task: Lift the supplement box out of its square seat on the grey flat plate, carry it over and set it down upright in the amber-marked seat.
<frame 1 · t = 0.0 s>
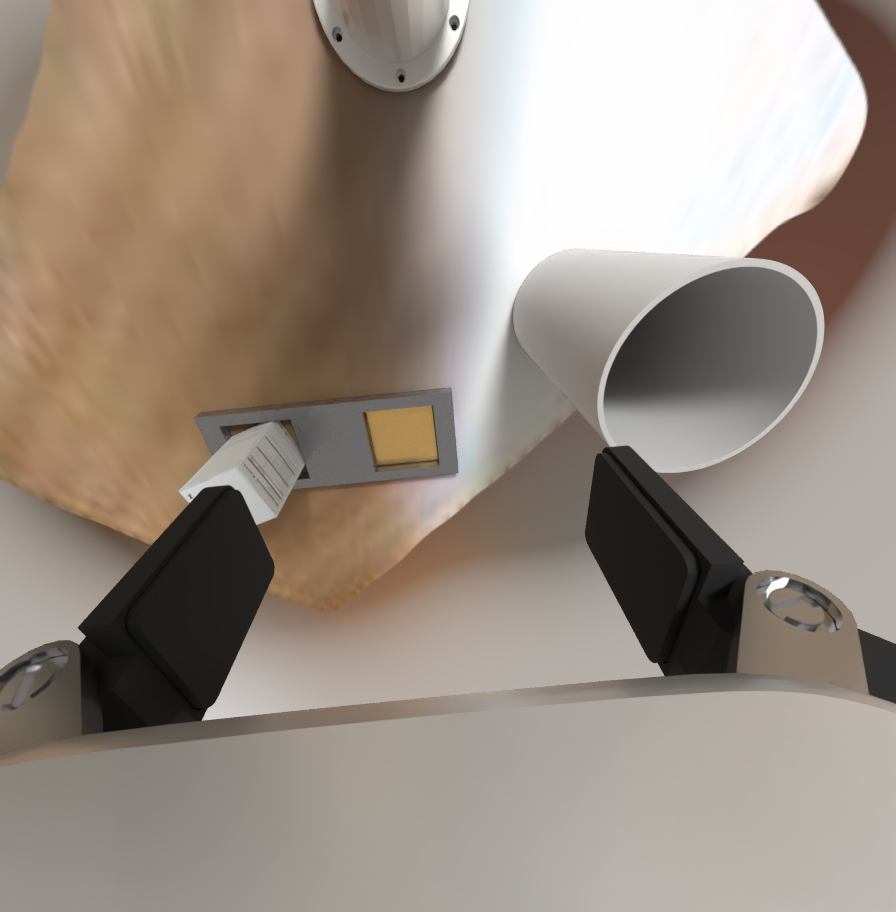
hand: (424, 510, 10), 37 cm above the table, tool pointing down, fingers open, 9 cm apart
grey flat plate: (337, 441, 50), on the table
supplement box: (271, 446, 50), resting in grey flat plate
cylinder vase: (564, 310, 43), on the table
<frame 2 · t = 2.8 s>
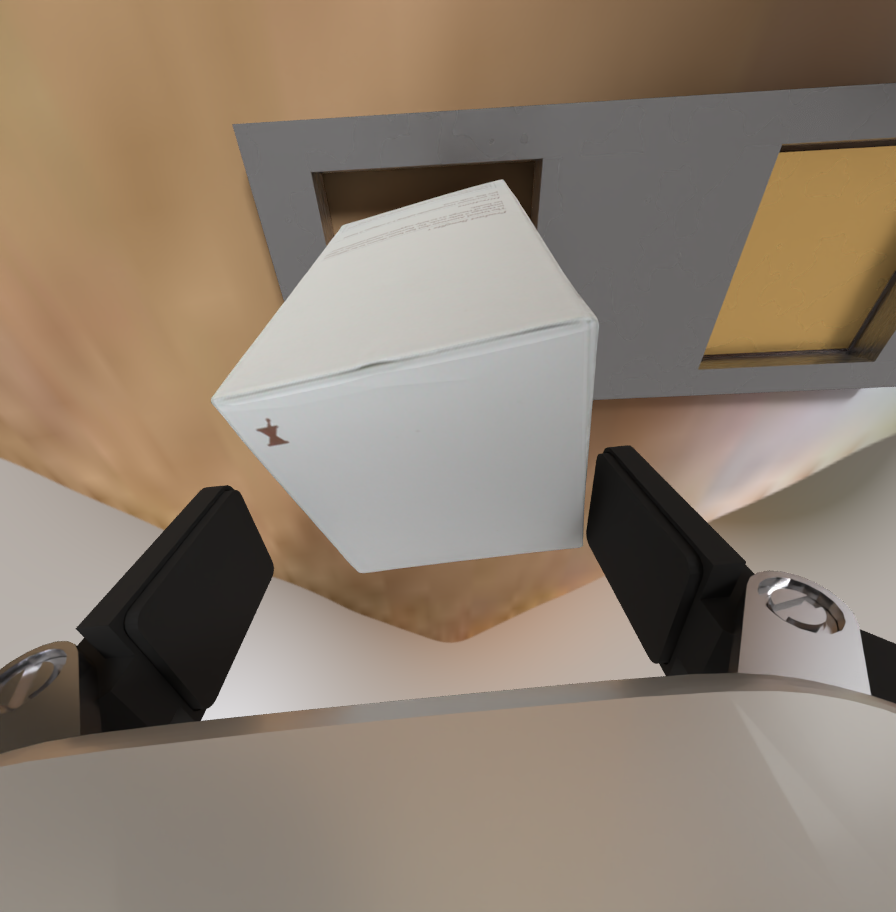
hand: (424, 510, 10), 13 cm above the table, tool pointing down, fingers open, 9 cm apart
grey flat plate: (618, 273, 18), on the table
supplement box: (442, 286, 18), resting in grey flat plate
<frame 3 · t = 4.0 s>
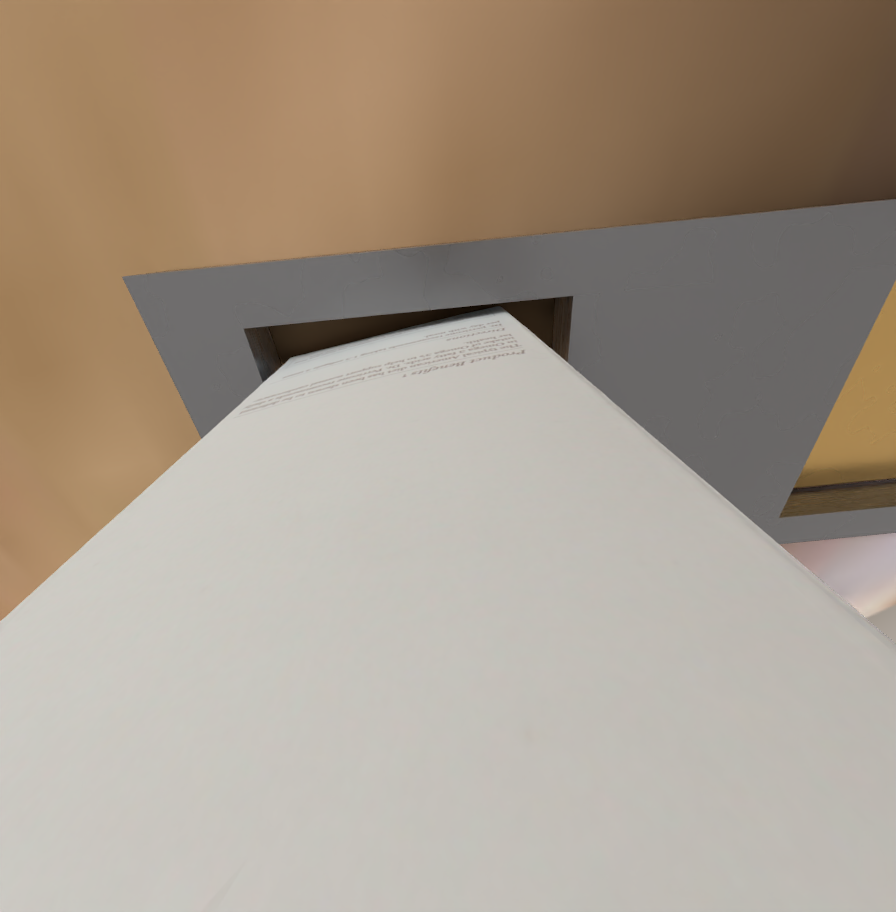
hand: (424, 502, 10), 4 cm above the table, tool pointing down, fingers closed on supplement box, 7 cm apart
grey flat plate: (668, 408, 14), on the table
supplement box: (424, 425, 14), resting in grey flat plate, touching gripper
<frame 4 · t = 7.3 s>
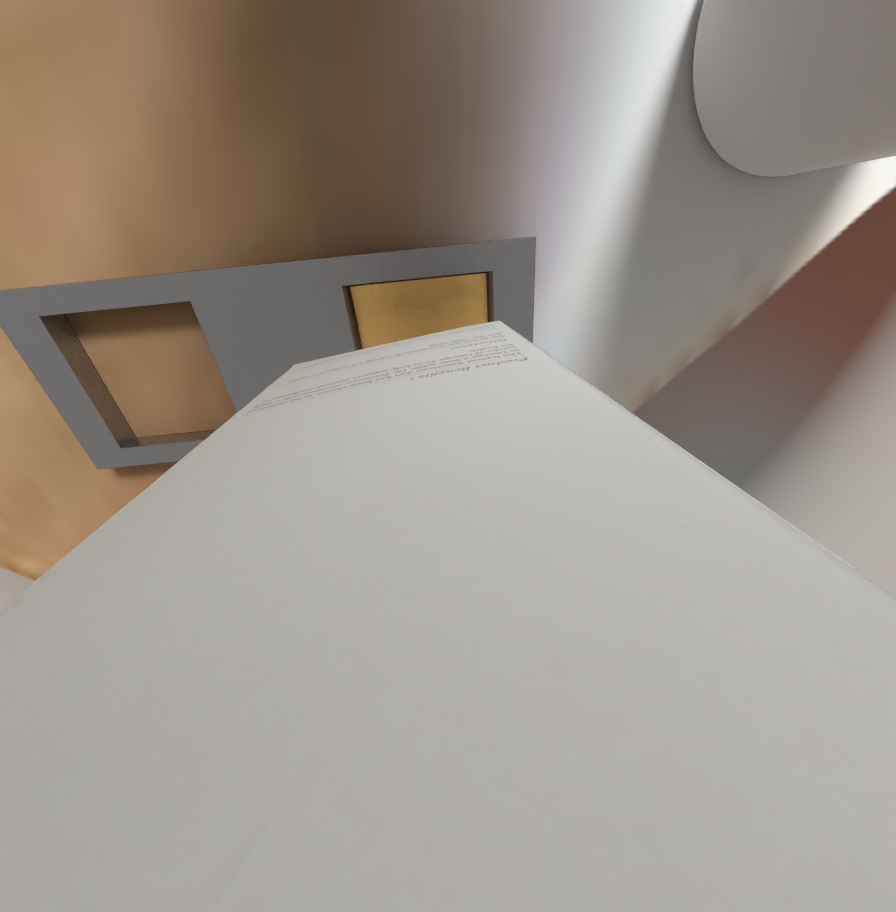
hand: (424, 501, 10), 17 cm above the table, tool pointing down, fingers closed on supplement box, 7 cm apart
grey flat plate: (296, 361, 25), on the table
supplement box: (422, 435, 14), point 13 cm above the table, touching gripper
cylinder vase: (809, 25, 18), on the table
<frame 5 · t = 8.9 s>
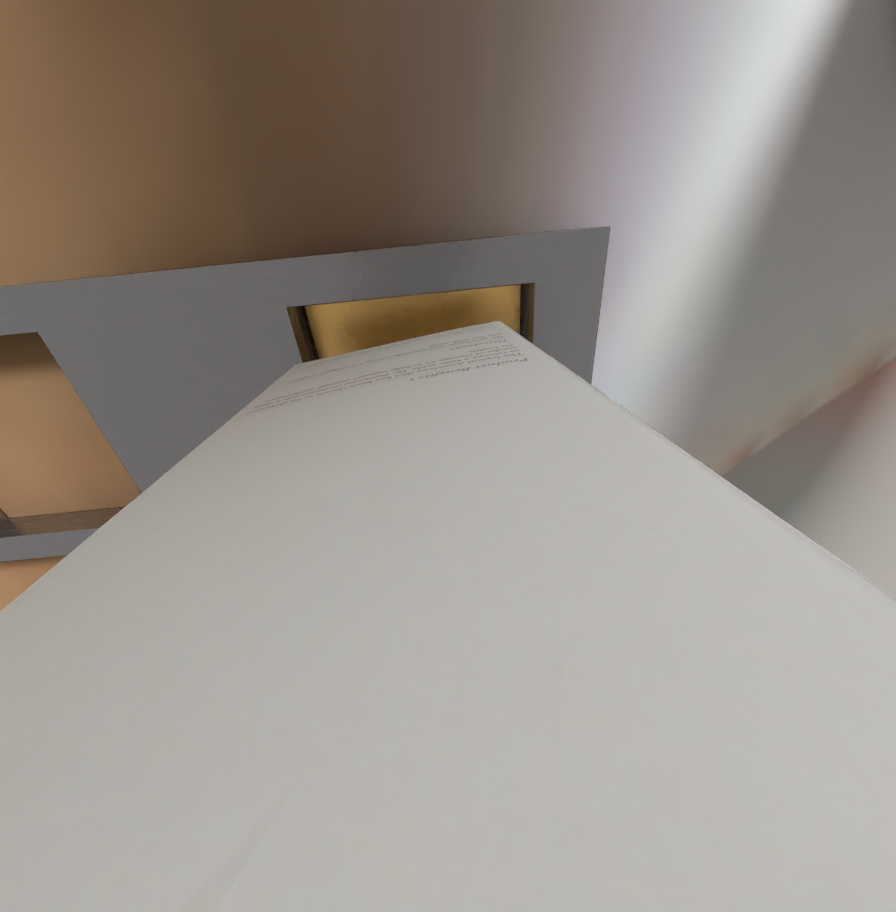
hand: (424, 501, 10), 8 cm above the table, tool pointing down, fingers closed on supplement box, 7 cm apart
grey flat plate: (230, 414, 17), on the table
supplement box: (422, 435, 14), point 4 cm above the table, touching gripper
when the fingers open (5 cm above the table, at t = 10.5 s): supplement box drops 1 cm, resting on grey flat plate.
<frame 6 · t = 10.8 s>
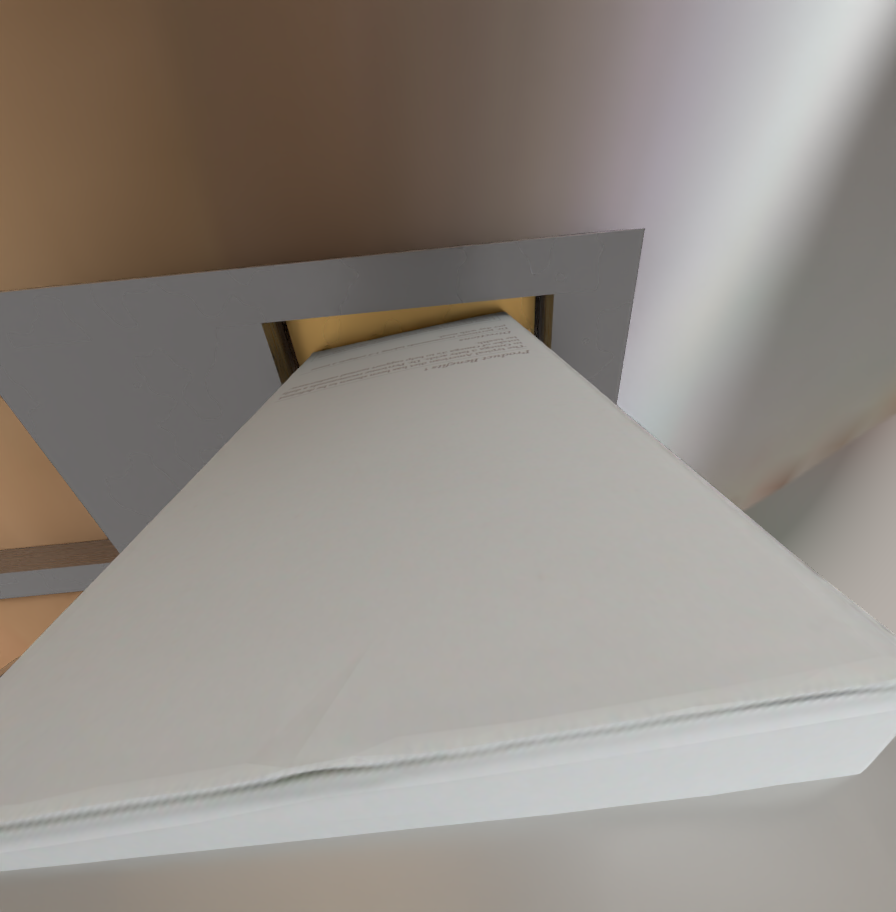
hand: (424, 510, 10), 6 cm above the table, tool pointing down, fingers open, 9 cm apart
grey flat plate: (204, 441, 15), on the table
supplement box: (431, 418, 15), resting on grey flat plate
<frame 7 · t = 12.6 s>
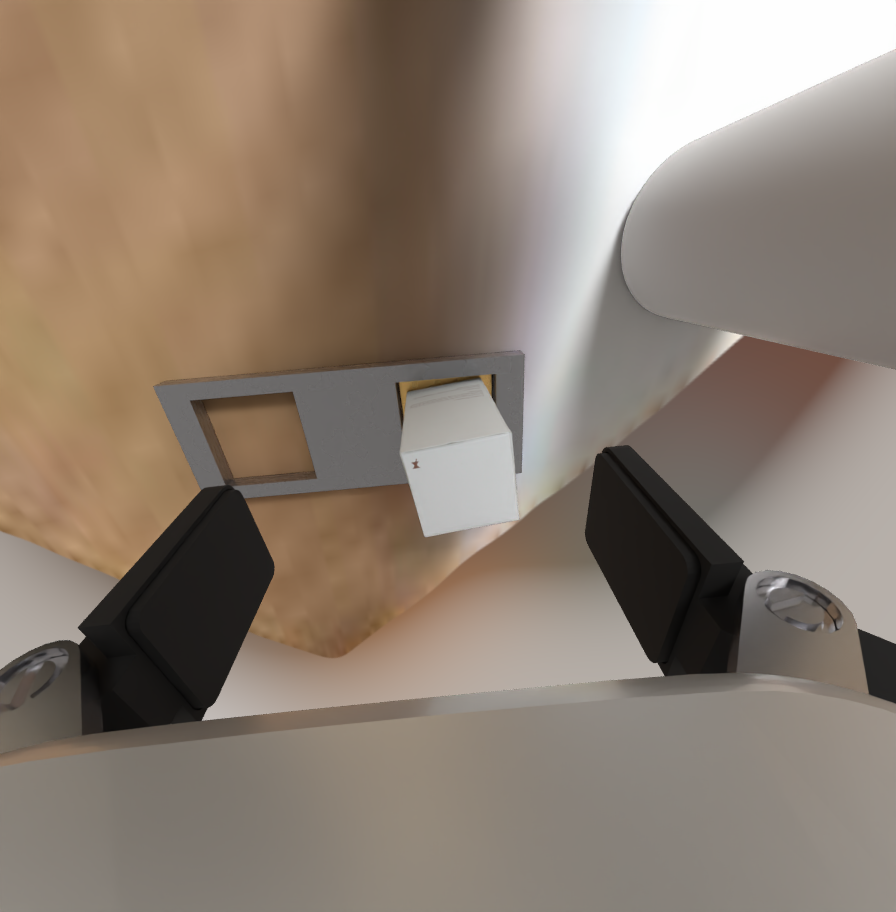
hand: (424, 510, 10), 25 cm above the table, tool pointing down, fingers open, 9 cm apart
grey flat plate: (356, 426, 36), on the table
supplement box: (450, 418, 36), resting on grey flat plate
cylinder vase: (691, 235, 30), on the table
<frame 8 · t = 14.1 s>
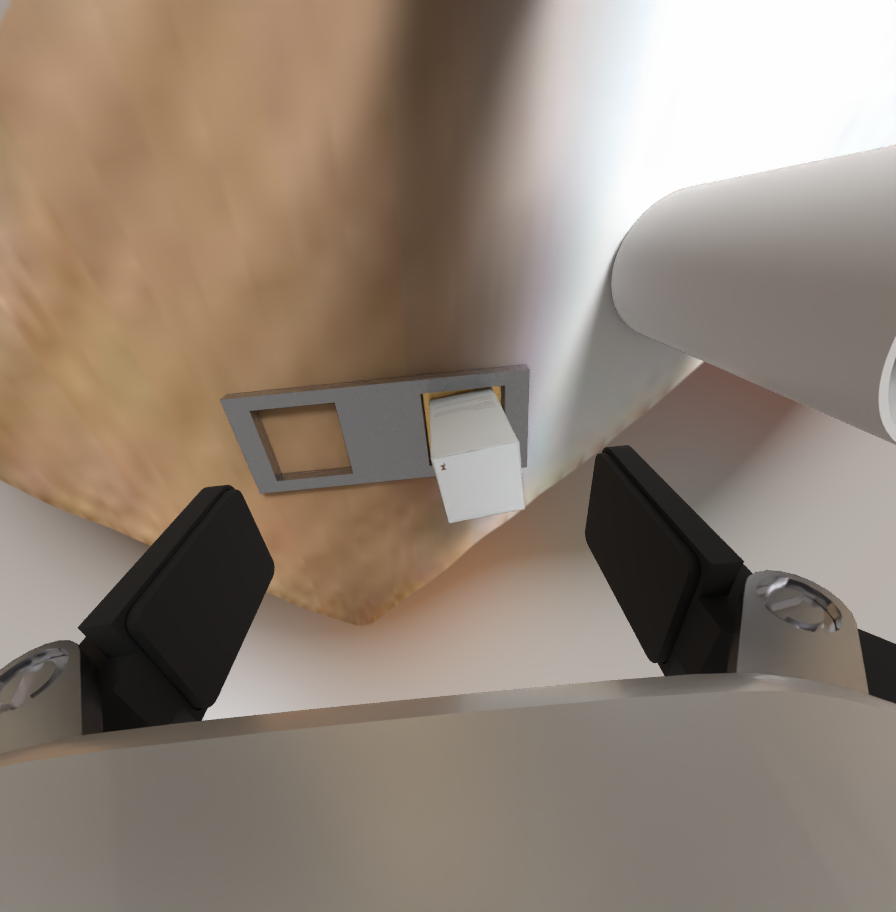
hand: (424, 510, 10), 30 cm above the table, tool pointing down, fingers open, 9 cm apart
grey flat plate: (386, 429, 42), on the table
supplement box: (466, 421, 42), resting on grey flat plate
cylinder vase: (672, 267, 35), on the table
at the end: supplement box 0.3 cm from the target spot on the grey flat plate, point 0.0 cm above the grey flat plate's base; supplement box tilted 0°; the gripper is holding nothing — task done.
